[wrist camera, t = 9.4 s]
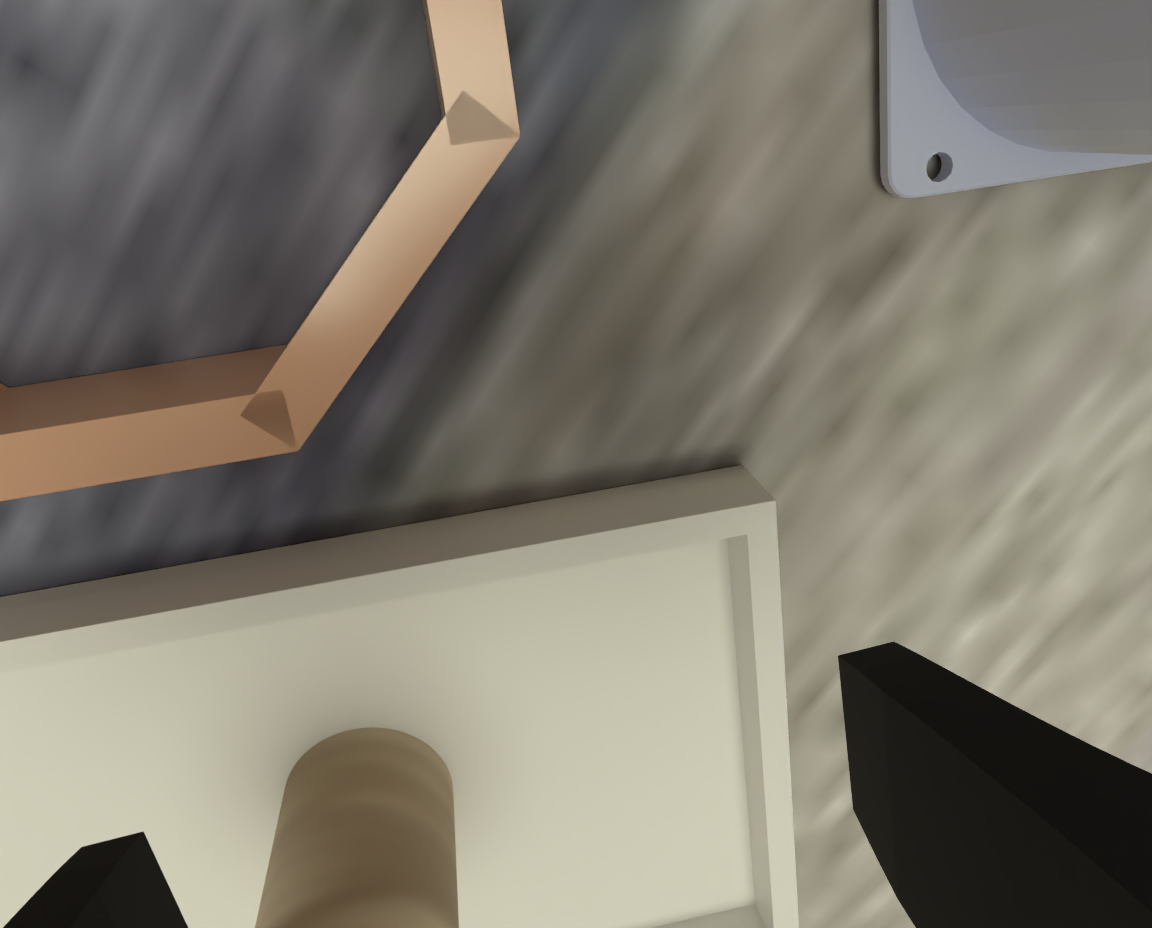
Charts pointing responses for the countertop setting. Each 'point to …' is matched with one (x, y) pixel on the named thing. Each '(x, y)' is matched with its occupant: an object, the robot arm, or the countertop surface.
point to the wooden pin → (364, 837)
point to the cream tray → (434, 707)
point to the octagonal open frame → (326, 336)
